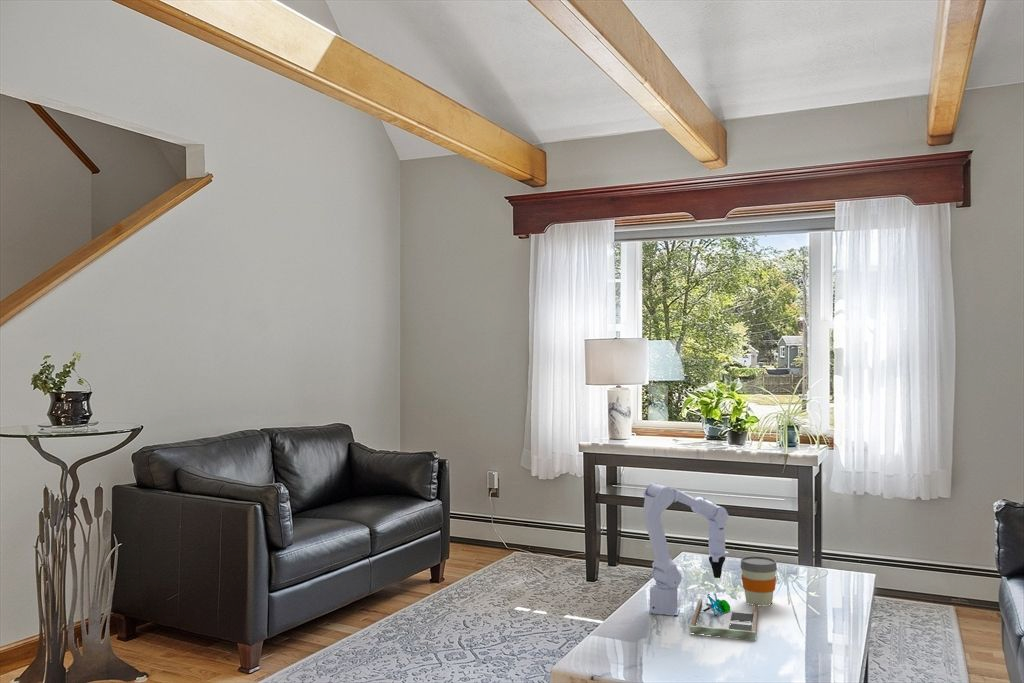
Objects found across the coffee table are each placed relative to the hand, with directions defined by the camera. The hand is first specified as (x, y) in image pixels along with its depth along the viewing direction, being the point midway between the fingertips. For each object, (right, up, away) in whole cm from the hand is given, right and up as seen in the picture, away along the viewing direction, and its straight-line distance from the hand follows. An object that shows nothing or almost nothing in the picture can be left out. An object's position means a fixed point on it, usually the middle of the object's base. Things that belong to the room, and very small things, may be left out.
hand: (717, 577), depth 295 cm
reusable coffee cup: (+15, -10, +1) cm, 18 cm away
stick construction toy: (-3, -10, -10) cm, 14 cm away
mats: (+3, -9, -21) cm, 23 cm away
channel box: (-2, -9, -19) cm, 22 cm away
